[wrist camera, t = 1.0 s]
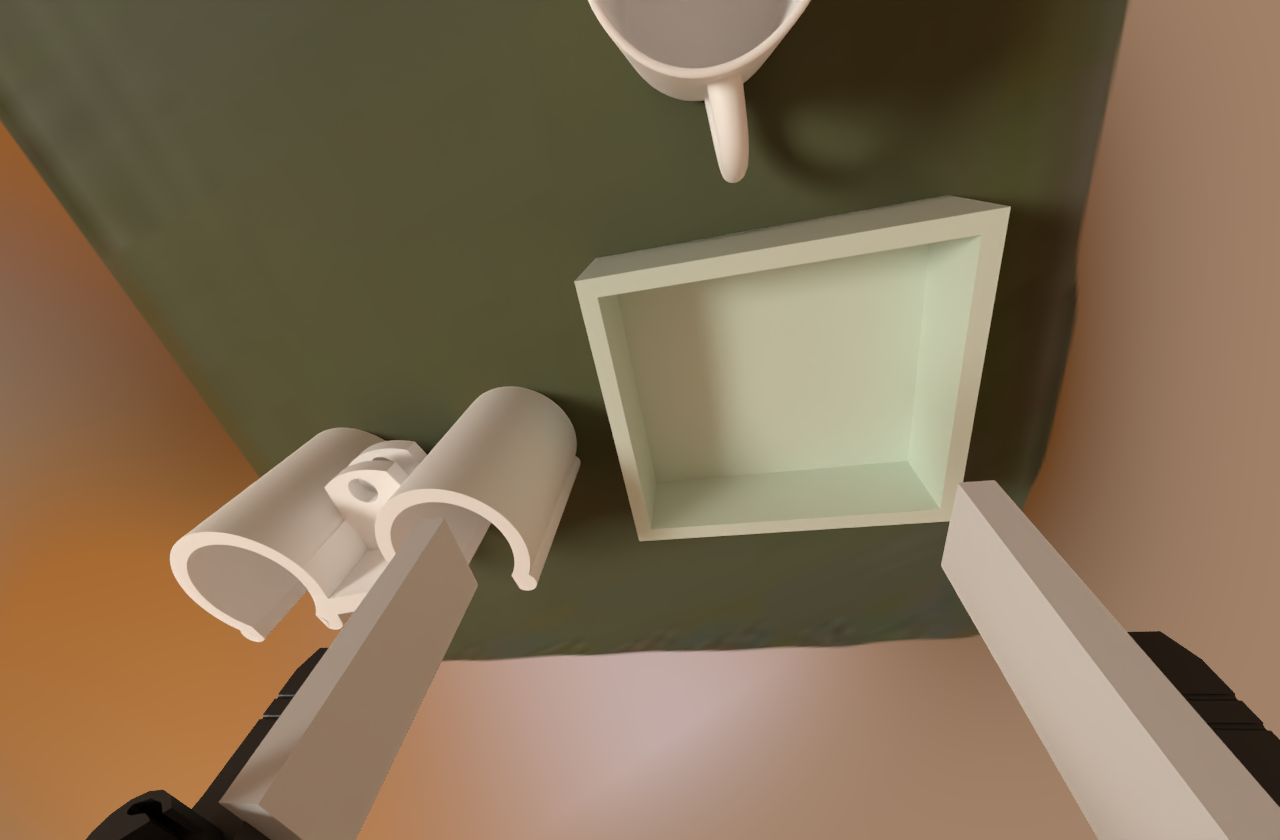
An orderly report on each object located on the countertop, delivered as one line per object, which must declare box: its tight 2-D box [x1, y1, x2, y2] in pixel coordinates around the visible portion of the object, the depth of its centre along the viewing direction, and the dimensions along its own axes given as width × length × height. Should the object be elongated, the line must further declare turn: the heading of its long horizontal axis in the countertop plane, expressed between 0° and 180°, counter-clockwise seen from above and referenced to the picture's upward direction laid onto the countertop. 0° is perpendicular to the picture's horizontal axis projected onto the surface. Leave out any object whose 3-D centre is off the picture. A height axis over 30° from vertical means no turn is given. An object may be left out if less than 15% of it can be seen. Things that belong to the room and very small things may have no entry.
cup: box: [588, 0, 811, 183], centre depth 19 cm, size 8×12×10 cm
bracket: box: [170, 386, 581, 642], centre depth 34 cm, size 25×10×12 cm, turn 109°
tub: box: [574, 195, 1011, 541], centre depth 29 cm, size 18×20×6 cm
